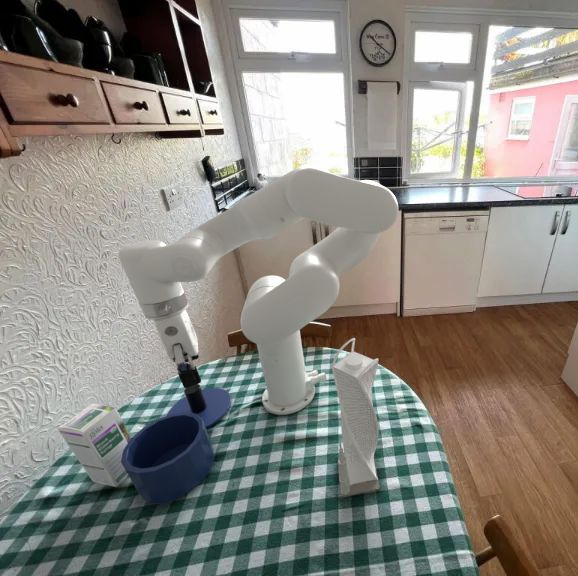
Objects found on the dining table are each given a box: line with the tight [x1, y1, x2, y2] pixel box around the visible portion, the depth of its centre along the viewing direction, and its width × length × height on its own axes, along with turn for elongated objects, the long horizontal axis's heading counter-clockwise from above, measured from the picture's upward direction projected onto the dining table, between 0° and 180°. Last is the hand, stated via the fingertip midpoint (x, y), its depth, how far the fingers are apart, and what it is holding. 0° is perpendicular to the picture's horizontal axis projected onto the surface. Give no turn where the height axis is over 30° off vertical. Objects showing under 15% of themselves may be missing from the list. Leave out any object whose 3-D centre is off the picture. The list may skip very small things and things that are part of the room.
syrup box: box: [57, 403, 132, 488], centre depth 57 cm, size 6×6×14 cm
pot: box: [121, 412, 215, 505], centre depth 59 cm, size 13×13×8 cm
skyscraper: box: [331, 337, 380, 499], centre depth 54 cm, size 8×8×28 cm
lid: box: [166, 383, 232, 429], centre depth 72 cm, size 14×14×7 cm
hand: (192, 371), depth 69 cm, fingers open, 9 cm apart
